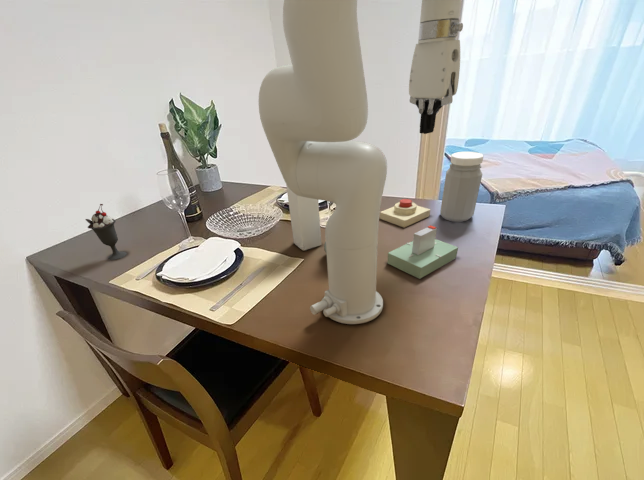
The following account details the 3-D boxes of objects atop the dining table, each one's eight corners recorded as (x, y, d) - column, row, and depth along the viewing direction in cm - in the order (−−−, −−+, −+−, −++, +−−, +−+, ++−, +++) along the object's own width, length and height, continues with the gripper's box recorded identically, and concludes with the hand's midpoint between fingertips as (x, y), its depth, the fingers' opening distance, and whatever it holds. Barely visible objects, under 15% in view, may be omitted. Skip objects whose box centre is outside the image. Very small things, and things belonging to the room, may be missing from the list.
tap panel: (420, 279, 75) (421, 267, 73) (386, 263, 82) (387, 252, 80) (456, 258, 82) (458, 246, 80) (423, 244, 89) (424, 234, 87)
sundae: (135, 251, 98) (112, 201, 89) (118, 262, 92) (93, 211, 84) (117, 249, 99) (93, 201, 90) (99, 260, 94) (73, 210, 85)
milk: (303, 251, 90) (293, 168, 77) (293, 243, 95) (282, 163, 82) (322, 245, 93) (315, 163, 79) (312, 237, 97) (304, 158, 84)
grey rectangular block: (418, 255, 78) (420, 235, 75) (411, 252, 79) (413, 232, 76) (434, 247, 81) (437, 227, 78) (427, 244, 82) (430, 224, 79)
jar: (469, 224, 96) (483, 160, 86) (435, 220, 101) (444, 158, 90) (475, 213, 103) (489, 151, 93) (443, 209, 107) (452, 149, 97)
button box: (404, 227, 98) (405, 214, 96) (379, 218, 105) (380, 206, 102) (429, 216, 104) (431, 203, 101) (404, 208, 110) (405, 196, 108)
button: (406, 209, 100) (406, 203, 99) (397, 206, 102) (397, 201, 101) (413, 206, 102) (414, 200, 101) (404, 203, 104) (405, 198, 103)
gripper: (482, 28, 64) (464, 133, 75) (419, 36, 74) (411, 127, 85) (459, 29, 60) (444, 138, 71) (397, 37, 70) (391, 132, 81)
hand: (426, 132), depth 78 cm, fingers closed
